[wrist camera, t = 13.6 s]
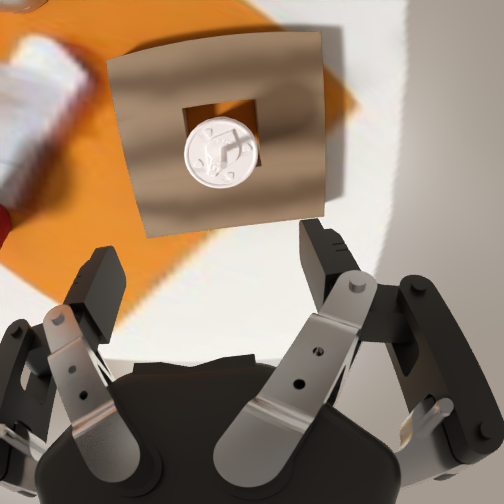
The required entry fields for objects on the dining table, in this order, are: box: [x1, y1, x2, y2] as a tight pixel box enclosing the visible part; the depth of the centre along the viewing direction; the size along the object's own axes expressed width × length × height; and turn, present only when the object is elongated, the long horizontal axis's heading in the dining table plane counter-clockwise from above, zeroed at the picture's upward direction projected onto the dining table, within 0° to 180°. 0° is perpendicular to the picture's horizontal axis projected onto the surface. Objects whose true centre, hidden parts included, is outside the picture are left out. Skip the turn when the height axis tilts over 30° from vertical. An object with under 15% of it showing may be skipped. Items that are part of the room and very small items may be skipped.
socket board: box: [106, 32, 325, 238], centre depth 31 cm, size 22×22×3 cm
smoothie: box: [184, 116, 258, 188], centre depth 27 cm, size 6×6×14 cm
